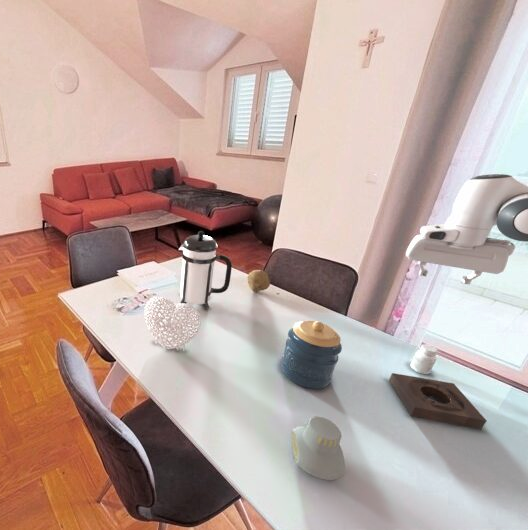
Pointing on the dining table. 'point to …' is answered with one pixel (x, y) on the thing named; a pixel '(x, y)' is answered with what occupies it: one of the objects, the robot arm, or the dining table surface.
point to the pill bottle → (424, 359)
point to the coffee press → (200, 269)
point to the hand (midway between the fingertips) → (442, 279)
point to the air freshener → (318, 448)
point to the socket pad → (448, 411)
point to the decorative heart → (171, 322)
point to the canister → (311, 354)
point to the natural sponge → (258, 280)
